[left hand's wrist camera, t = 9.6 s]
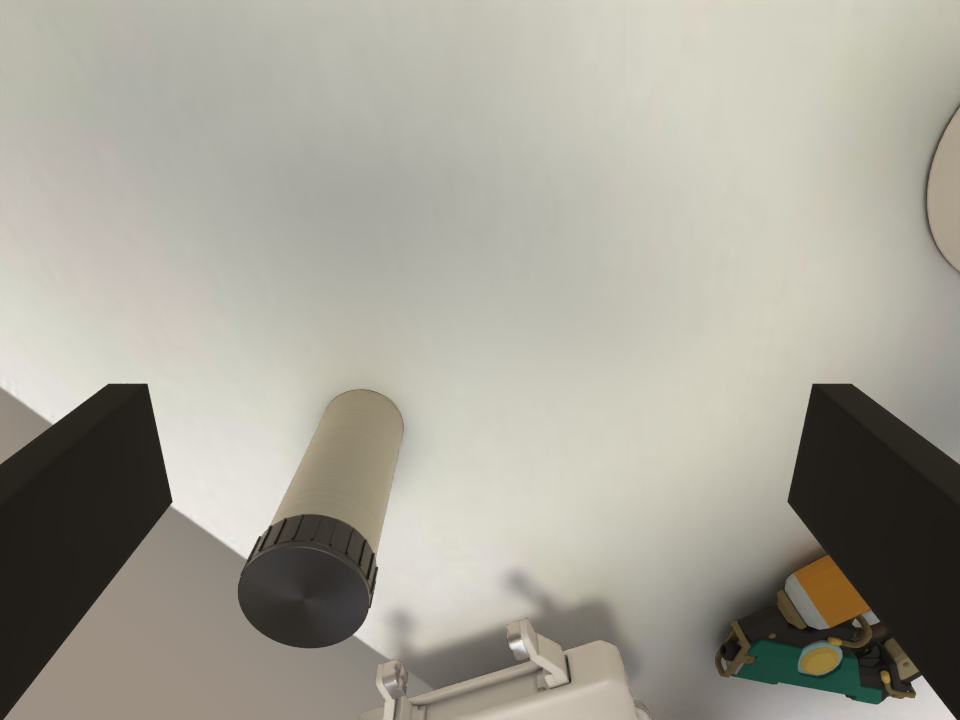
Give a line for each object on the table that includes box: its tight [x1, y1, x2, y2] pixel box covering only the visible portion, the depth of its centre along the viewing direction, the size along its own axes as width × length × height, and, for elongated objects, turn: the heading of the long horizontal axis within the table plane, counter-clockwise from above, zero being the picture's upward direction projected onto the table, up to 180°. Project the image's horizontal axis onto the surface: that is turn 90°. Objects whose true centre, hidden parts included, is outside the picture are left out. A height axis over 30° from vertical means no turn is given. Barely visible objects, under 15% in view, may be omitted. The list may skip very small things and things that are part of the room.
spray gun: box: [715, 555, 922, 704], centre depth 47 cm, size 4×17×15 cm
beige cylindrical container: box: [271, 390, 404, 559], centre depth 35 cm, size 5×5×16 cm
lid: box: [238, 514, 378, 648], centre depth 29 cm, size 6×6×2 cm
